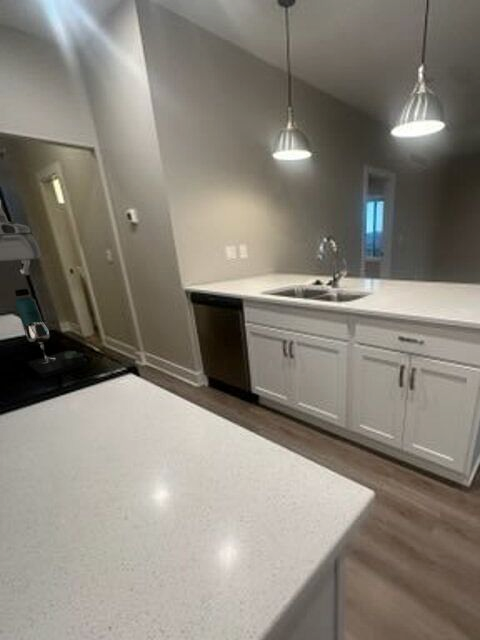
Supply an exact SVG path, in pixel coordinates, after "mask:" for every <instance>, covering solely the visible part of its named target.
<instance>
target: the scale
mask: <svg viewBox="0 0 480 640" xmlns="http://www.w3.org/2000/svg"><path fill="white" fill-rule="evenodd" d="M71 351H72V350H65V351H61V352H57V353H55V354H50V355H46V356H47V357H48V358H56V359H55V360H54V361H51V362H48V363H39V361H41V360H43V359H44V358H45V356H43V357H39V358H35V359H32V360H29V361H27V364H28V366H29V367H30V368H31V369H33V370H34V371H35V372H36V373H37V374H38V375H39V376H40V377H42V378H43V379H44V378H48V377H51V376H54V375H58V374H61V373H64V372H68V371H71V370H73V369H74V370H75V369H77V368H80V367H84V366H86V365H87V366H88V365H89V361H88V360H87V358H85V355H84V353H82V352H77V355H78V356H77V357H75V358H71V359H66V358H65V355H64V354H65V353H67V352H71Z"/></svg>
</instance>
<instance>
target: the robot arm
mask: <svg viewBox="0 0 480 640" xmlns="http://www.w3.org/2000/svg"><path fill="white" fill-rule="evenodd" d="M30 233H31V229H30V227H29V226H28V225H25V224H21V223H17V222H12V221H8V218H7V215H6V213H5V212H4V211H3V208H2V200H1V199H0V262H10V261H20V262H21V264H22V265H23V267H22V269H19V271H20V275H21V276H30V270H29V269H30V265H31V261H30V260H38V259H40V258H41V256H42V253H41V250H40V247H39V244H38V242H37V241H36V238H35V237H34V236H33V235H32V234H30Z"/></svg>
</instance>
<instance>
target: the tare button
mask: <svg viewBox="0 0 480 640" xmlns="http://www.w3.org/2000/svg"><path fill="white" fill-rule="evenodd" d="M70 351H71V352H67V353H65V354H64V355H65V358H66V359H71V358H75V357H77V356H78V355H77V353H78V352H77V351H76V350H70Z"/></svg>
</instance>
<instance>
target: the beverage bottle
mask: <svg viewBox="0 0 480 640" xmlns="http://www.w3.org/2000/svg"><path fill="white" fill-rule="evenodd" d="M14 293H15V296H16V297H21V298H17V299H16V300H15V301H14V304H15V307H16V310H17V312H18V315H19V319H20V321H21V325H22V328H23V331H24V332H25V325H27V324H30V323H35V322H43V323H44V321H43V317H42V316H41V312H40V310H39V307H38V304H37V301H36V299H35V298H33V297H23V296H28V295H30V291H29V289H28V288H19V289H15V290H14Z"/></svg>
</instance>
